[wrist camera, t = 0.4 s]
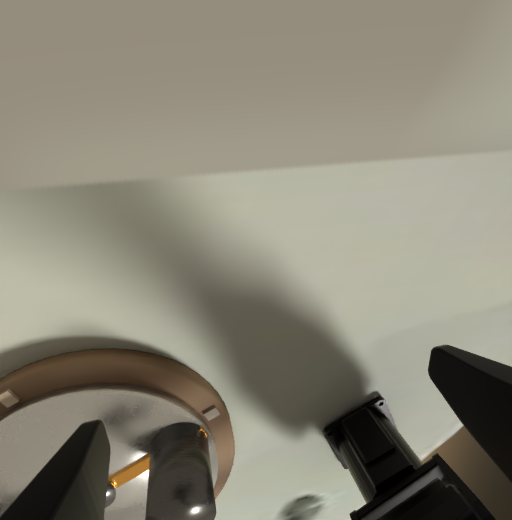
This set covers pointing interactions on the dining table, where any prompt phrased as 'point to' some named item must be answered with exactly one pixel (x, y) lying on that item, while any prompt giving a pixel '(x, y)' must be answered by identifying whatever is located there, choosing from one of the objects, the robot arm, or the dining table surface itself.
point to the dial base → (129, 372)
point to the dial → (118, 449)
